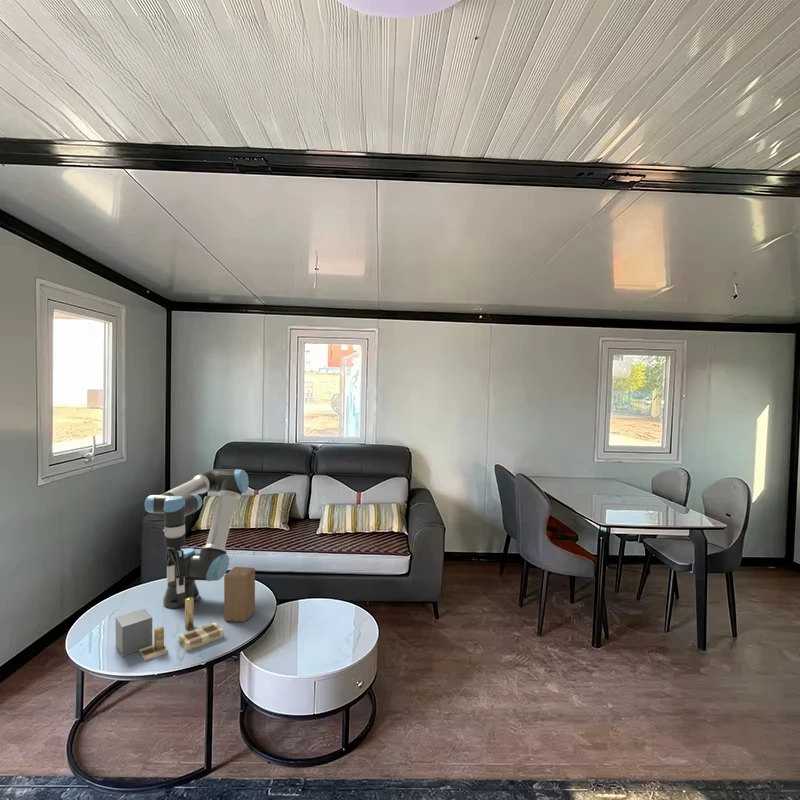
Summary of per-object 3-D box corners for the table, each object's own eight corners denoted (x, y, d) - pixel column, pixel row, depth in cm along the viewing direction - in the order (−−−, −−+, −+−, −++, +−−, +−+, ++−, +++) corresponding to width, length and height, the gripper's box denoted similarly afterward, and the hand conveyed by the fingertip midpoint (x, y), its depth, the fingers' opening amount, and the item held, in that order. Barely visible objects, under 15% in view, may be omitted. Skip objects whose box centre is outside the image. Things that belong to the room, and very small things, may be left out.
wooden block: (255, 611, 197) (255, 566, 197) (245, 623, 187) (245, 576, 187) (234, 610, 198) (234, 565, 198) (223, 621, 188) (223, 575, 188)
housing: (115, 645, 170) (115, 617, 170) (144, 635, 177) (144, 608, 177) (122, 656, 163) (122, 627, 163) (152, 645, 170) (152, 617, 170)
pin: (183, 627, 183) (183, 598, 183) (191, 624, 186) (191, 596, 185) (186, 630, 181) (186, 601, 181) (194, 627, 183) (194, 598, 183)
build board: (179, 642, 172) (179, 635, 172) (215, 629, 182) (215, 622, 182) (186, 651, 166) (186, 643, 166) (223, 637, 176) (223, 629, 176)
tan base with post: (139, 652, 166) (139, 631, 166) (161, 644, 171) (161, 623, 171) (145, 660, 160) (145, 639, 160) (167, 652, 166) (167, 631, 166)
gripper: (156, 529, 186) (157, 579, 187) (173, 545, 167) (174, 601, 168) (175, 526, 191) (176, 574, 192) (194, 541, 172) (195, 594, 173)
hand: (175, 586), depth 180 cm, fingers open, 13 cm apart
